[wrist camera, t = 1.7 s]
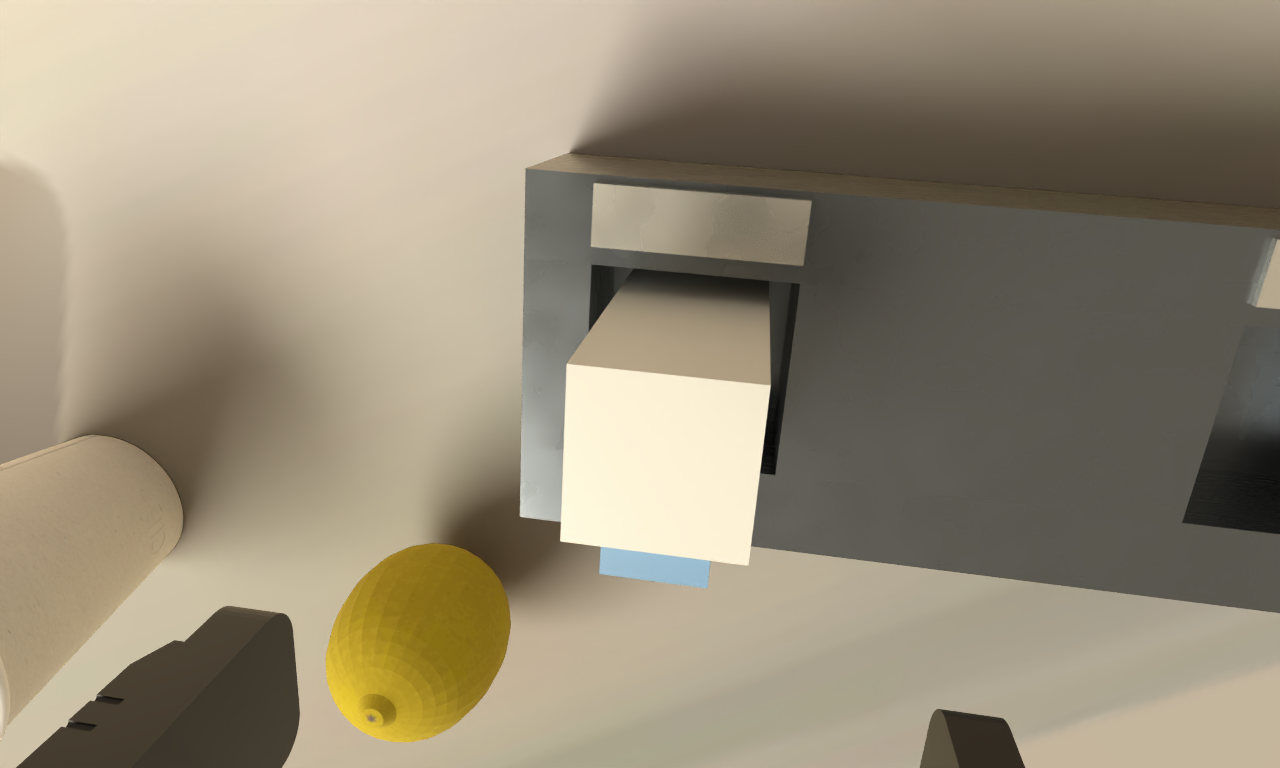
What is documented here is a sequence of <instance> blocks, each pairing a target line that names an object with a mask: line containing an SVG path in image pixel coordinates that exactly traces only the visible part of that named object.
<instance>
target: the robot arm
mask: <svg viewBox="0 0 1280 768" xmlns="http://www.w3.org/2000/svg"><path fill="white" fill-rule="evenodd" d="M299 716H300V709H299V697H298V685H297V673H296V662H295V650H294V638H293V628H292V624H291V621H290V619H289V617H288V616H287V615H285V614H283V613H276V612H269V611H262V610H255V609H247V608H240V607H233V606H226V607H223V608H221V609H219V610H218V611H217V612H215V613H214V614H213V615H212V616H211V617H210V618H209V619H208V620H207V621H206V622H205V623H204V624H203V625H202V626H201V627H200V628H199V629H198V630H196V631H195V632H194V633H193V634H192V635H191V636H190V637H189V638H188V639H187V640H186V641H185V642H182V641H175V640H174V641H172V642H171V643H169V644H167V645H165V646H163V647H161V648H159V649H158V650H156V651H154V652H152V653H150V654H148V655H147V656H145V657H143V658H141V659H139V660H137V661H135V662H134V663H132V664H130V665H129V666H128V667H127V668H126V669H125V670H123V671H122V672H121V673H120V674H119V675H118V676H117V677H116V678H115V679H114V680H112V681H111V682H110V683H109V684H108V685H107V686H106V687H105V688H104V689H102V690H101V691H100V692H99V693H98V694H97V698H96V700H95V701H89V702H88V703H87V704H86V705H85V706H84V707H83V708H82V709H80V710H79V711H78V712H77V713H76V714H75V715H74V716H73V717H72V718H70V719H69V722H68V725H67V726H66V728H65V727H61V728H59V729H58V730H57V731H56V732H55V733H54V734H53V735H52V736H51V737H49V738H48V739H47V740H46V741H45V742H44V743H43V744H42V745H41V746H40V747H38V748H37V749H36V750H35V751H34V752H33V753H32V754H31V755H30V756H29V757H27V758H26V759H25V760H24V761H23V762H22V763H21V764H20V765H19V766H17V767H16V768H282V766H283V765H284V763H285V762H286V760H287V758H288V756H289V754H290V752H291V750H292V747H293V744H294V742H295V738H296V735H297V730H298V725H299ZM920 768H1025V766H1024V764H1023V761H1022V758H1021V756H1020V753H1019V751H1018V748H1017V745H1016V743H1015V740H1014V738H1013V735H1012V732H1011V730H1010V728H1009V725H1008V724H1007V722H1006V721H1005V720H1004V719H1002V718H998V717H991V716H984V715H977V714H970V713H963V712H956V711H949V710H942V709H937V710H935V711H934V713H933V715H932V717H931V720H930V724H929V729H928V733H927V738H926V742H925V747H924V751H923V756H922V760H921V765H920Z"/></svg>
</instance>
